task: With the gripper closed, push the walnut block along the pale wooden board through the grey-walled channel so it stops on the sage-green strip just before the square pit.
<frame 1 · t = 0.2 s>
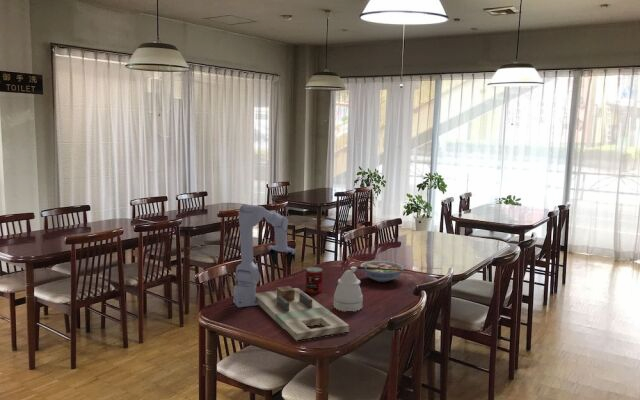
hand: (282, 265, 256), 11 cm above the table, tool pointing down, fingers open, 7 cm apart
walnut block: (285, 298, 230), point 3 cm above the table, touching board
white santa figurine: (347, 307, 230), on the table
ramen bowl: (381, 280, 272), on the table
canned food: (313, 291, 250), on the table
board: (297, 314, 218), on the table
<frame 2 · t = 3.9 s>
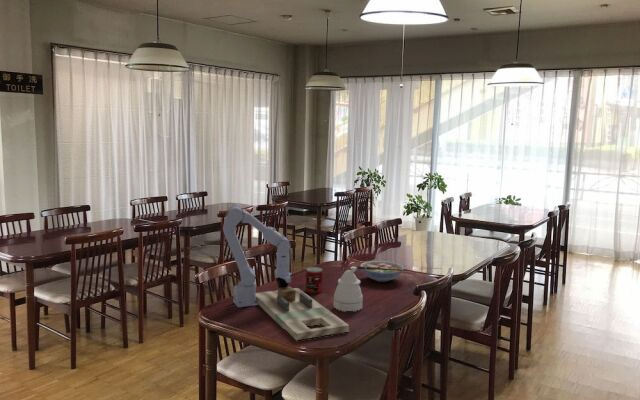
hand: (282, 293, 233), 4 cm above the table, tool pointing down, fingers closed
walnut block: (286, 299, 229), point 3 cm above the table, touching board, gripper
everything else where it was.
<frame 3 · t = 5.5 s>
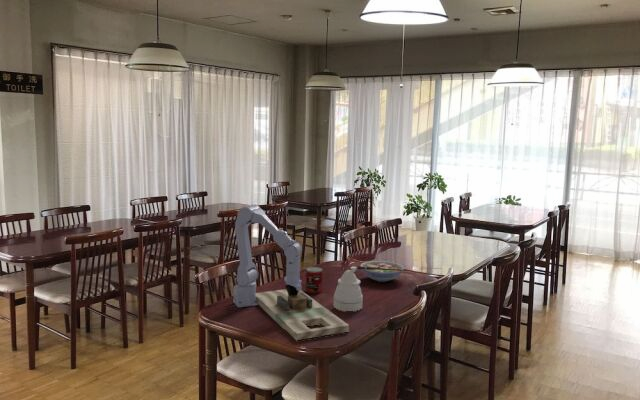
hand: (292, 301, 223), 4 cm above the table, tool pointing down, fingers closed
walnut block: (296, 307, 219), point 3 cm above the table, touching gripper
everything else where it was.
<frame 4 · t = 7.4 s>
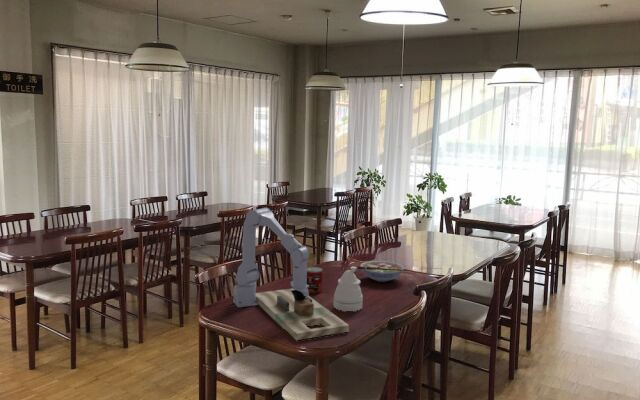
hand: (299, 307, 216), 4 cm above the table, tool pointing down, fingers closed
walnut block: (303, 313, 212), point 3 cm above the table, touching board, gripper
everything else where it was.
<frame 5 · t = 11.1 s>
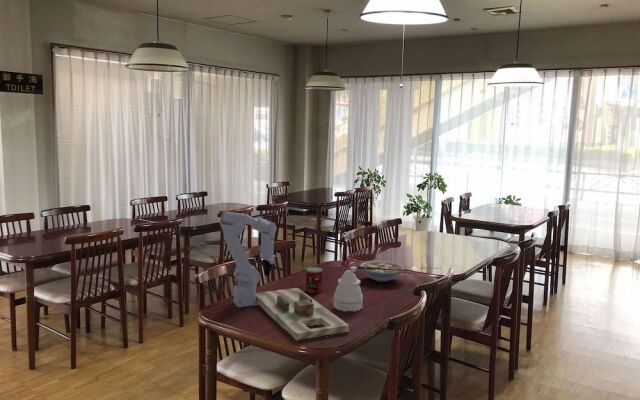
hand: (267, 275, 242), 9 cm above the table, tool pointing down, fingers closed
walnut block: (303, 313, 212), point 3 cm above the table, touching board
everything else where it was.
at the end: walnut block 0.4 cm from the target spot, point 3.0 cm above the table; walnut block tilted 0° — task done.
